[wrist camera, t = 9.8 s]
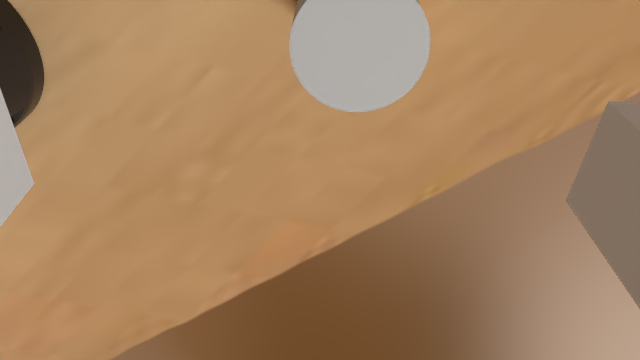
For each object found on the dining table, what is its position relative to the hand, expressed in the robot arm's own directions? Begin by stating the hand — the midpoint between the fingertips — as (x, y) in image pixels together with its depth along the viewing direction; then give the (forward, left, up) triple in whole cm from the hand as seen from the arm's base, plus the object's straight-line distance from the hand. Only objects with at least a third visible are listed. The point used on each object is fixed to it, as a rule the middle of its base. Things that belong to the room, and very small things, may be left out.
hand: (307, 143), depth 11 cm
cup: (+3, -4, -30) cm, 31 cm away
